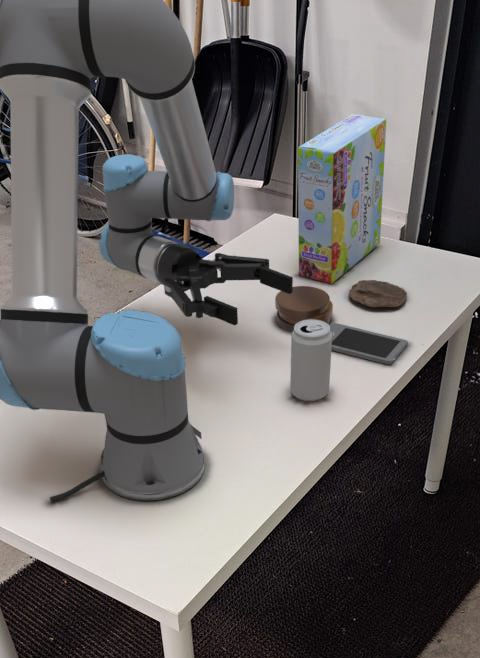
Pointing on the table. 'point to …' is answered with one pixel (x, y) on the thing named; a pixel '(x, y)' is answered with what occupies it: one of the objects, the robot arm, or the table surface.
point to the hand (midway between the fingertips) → (264, 300)
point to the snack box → (340, 196)
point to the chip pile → (302, 306)
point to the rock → (377, 294)
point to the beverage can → (310, 360)
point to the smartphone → (366, 343)
